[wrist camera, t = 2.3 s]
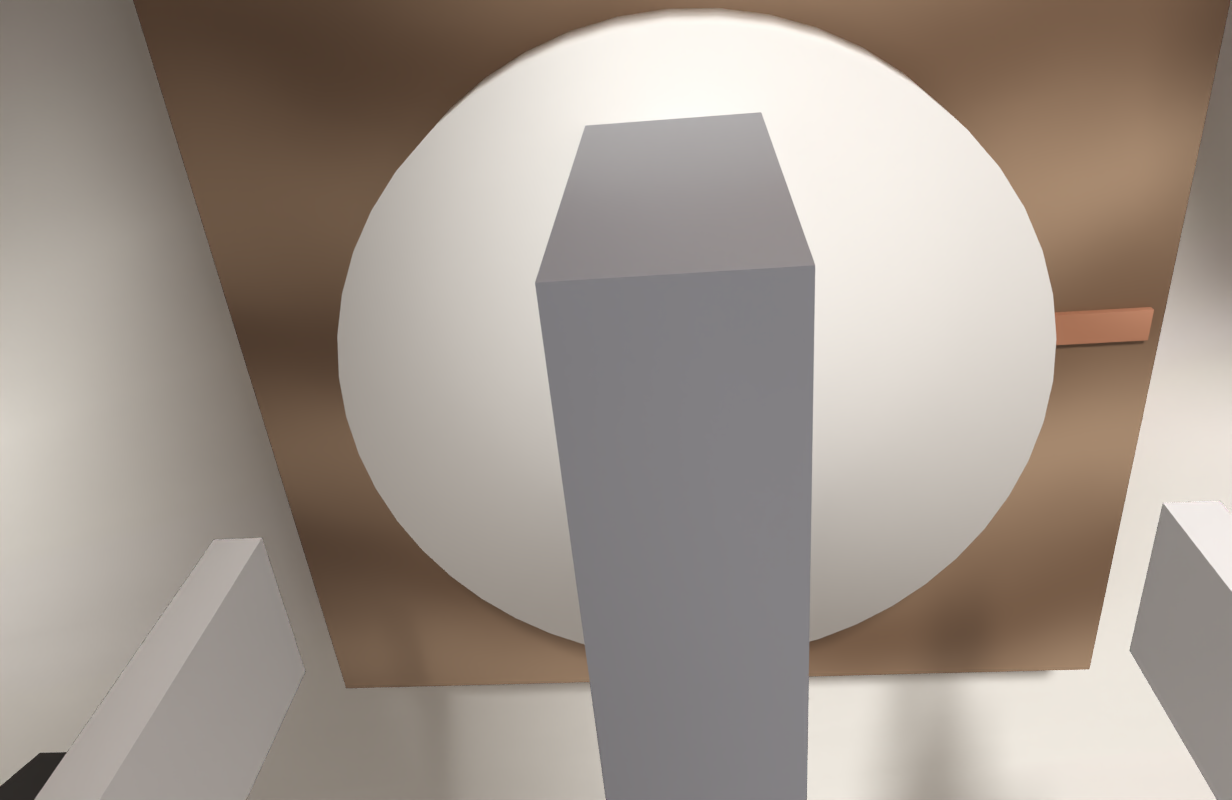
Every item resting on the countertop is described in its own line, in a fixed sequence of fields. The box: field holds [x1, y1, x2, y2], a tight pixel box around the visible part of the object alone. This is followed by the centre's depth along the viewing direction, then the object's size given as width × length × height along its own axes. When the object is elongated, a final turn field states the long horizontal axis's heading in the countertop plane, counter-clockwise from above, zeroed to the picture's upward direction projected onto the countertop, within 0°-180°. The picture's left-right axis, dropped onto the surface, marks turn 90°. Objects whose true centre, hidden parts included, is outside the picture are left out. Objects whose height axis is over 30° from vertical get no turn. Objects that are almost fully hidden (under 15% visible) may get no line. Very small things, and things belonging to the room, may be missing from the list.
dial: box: [337, 8, 1056, 800], centre depth 17 cm, size 14×14×9 cm
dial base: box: [133, 0, 1230, 688], centre depth 22 cm, size 20×20×2 cm
